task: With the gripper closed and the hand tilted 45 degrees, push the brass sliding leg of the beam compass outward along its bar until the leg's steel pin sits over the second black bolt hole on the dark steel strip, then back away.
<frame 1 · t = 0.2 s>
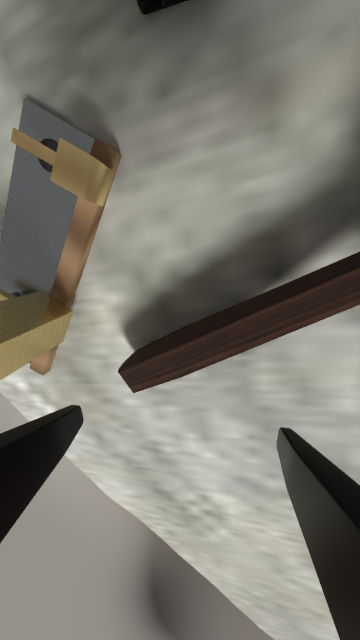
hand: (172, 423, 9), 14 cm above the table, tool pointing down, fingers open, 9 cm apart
trammel bar: (70, 281, 24), on the table
hammer: (250, 305, 22), on the table
bolt strip: (32, 259, 23), on the table
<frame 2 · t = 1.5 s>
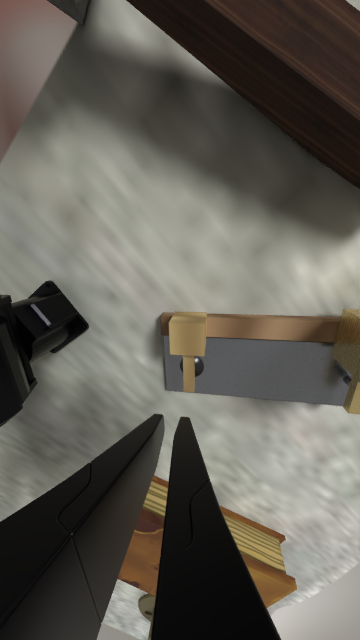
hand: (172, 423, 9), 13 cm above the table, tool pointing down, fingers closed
diary: (188, 527, 35), on the table
trammel bar: (302, 326, 20), on the table
hammer: (232, 81, 15), on the table
bolt strip: (293, 370, 21), on the table
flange: (173, 607, 45), on the table
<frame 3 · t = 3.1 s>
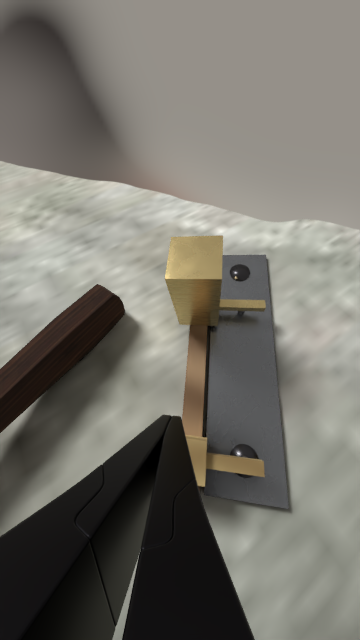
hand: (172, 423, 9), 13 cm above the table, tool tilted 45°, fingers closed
trammel bar: (197, 348, 24), on the table
hammer: (39, 399, 25), on the table
sliding leg: (222, 289, 21), point 6 cm above the table, slide at 0.0 cm
bolt strip: (240, 350, 24), on the table
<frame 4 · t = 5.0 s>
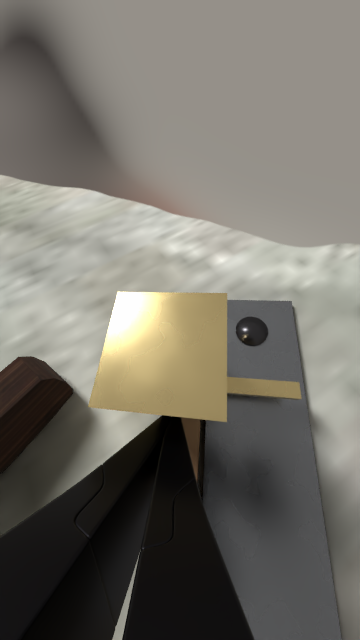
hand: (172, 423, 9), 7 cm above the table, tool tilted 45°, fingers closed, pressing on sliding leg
trammel bar: (183, 471, 14), on the table
sliding leg: (226, 376, 11), point 6 cm above the table, slide at 1.1 cm, touching gripper
bolt strip: (257, 482, 14), on the table
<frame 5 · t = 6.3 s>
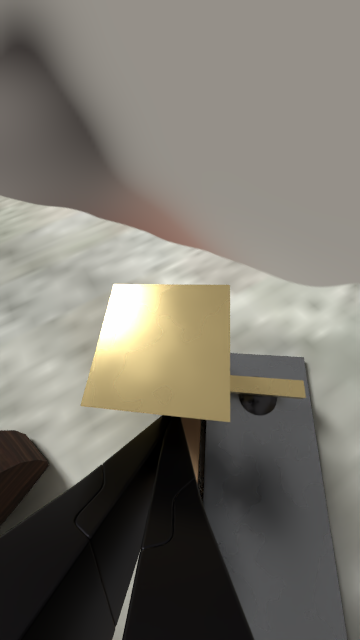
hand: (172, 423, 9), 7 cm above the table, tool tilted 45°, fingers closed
trammel bar: (175, 584, 12), on the table
sliding leg: (228, 374, 11), point 6 cm above the table, slide at 6.3 cm
bolt strip: (266, 607, 11), on the table
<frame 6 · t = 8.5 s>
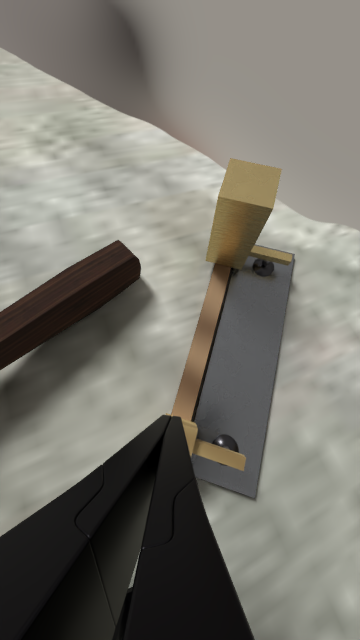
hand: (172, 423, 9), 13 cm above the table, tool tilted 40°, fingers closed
trammel bar: (203, 334, 24), on the table
hammer: (37, 345, 24), on the table
sliding leg: (259, 230, 21), point 6 cm above the table, slide at 6.3 cm
bolt strip: (245, 347, 23), on the table
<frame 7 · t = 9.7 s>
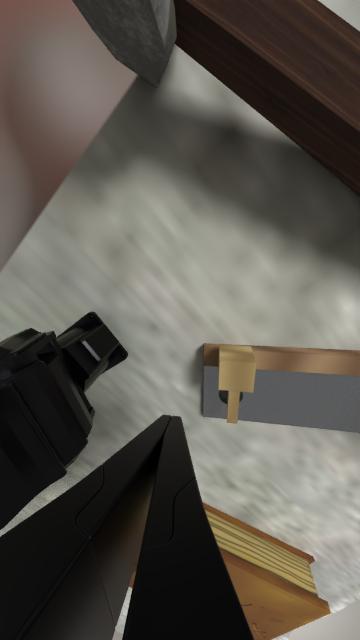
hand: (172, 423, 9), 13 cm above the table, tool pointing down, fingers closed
diary: (214, 543, 35), on the table
trammel bar: (343, 359, 20), on the table
hammer: (300, 140, 16), on the table
bolt strip: (332, 400, 22), on the table
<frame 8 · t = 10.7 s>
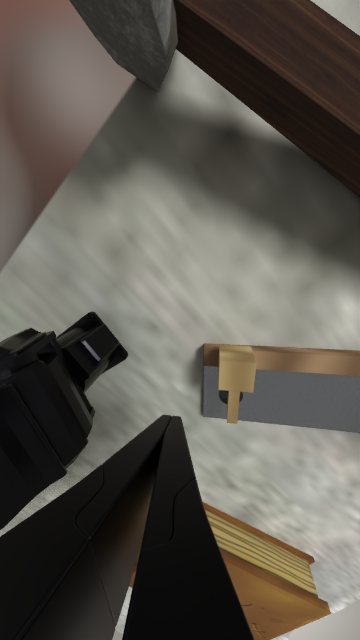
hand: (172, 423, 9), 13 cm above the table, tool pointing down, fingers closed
diary: (214, 543, 35), on the table
trammel bar: (343, 359, 20), on the table
hammer: (300, 142, 16), on the table
bolt strip: (332, 400, 22), on the table
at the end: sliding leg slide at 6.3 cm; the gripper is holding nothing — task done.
